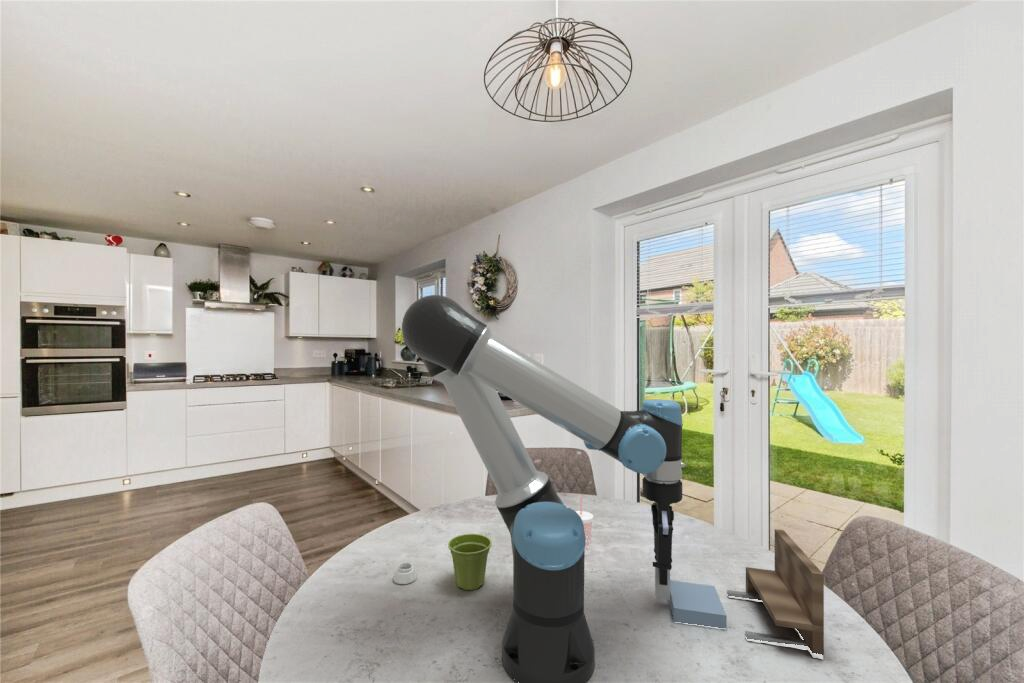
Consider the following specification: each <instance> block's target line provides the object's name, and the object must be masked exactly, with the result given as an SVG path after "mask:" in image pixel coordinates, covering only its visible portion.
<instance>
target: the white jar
mask: <svg viewBox="0 0 1024 683" xmlns="http://www.w3.org/2000/svg"><path fill="white" fill-rule="evenodd" d="M417 578H418V573H417V571H416V569H415V568H414V567H413V564H412V563H410V562H404V563H400V564H399V565H398V567H397V569H396V570H395V573H394V574H393V578H392V580H393V582H394V583H395V584H398V585H407V584H411V583H414V582H415V581H416V580H417Z"/></svg>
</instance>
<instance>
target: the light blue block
mask: <svg viewBox="0 0 1024 683" xmlns="http://www.w3.org/2000/svg"><path fill="white" fill-rule="evenodd" d="M669 606H671V607H670V610H672V611H671V616H672V615H673V616H672V621H673V620H674V621H673V623H674V622H681V623H688V624H697V625H704V626H711V627H718V628H726V629H727V614H726V611H725V608H724V606H723V603H722V601H721V599H720V596H719V594H718V592H717V588H716V587H715V585H710V584H701V583H694V582H688V581H687V582H686V581H680V580H672V579H670V602H669Z"/></svg>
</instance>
